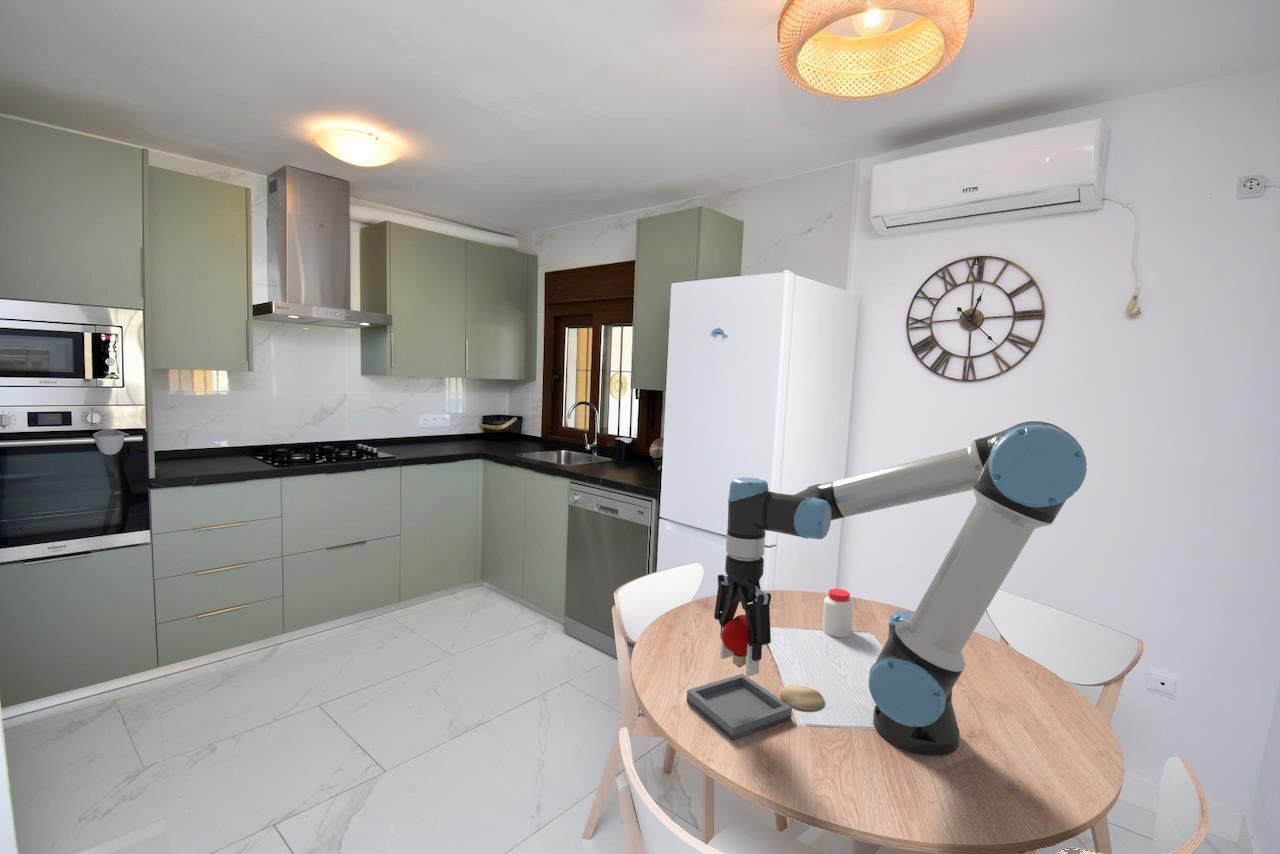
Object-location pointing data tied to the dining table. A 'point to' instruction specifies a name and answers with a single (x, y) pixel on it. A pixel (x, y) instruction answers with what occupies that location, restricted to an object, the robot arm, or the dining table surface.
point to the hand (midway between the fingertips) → (739, 665)
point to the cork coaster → (801, 697)
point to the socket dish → (738, 706)
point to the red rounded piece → (737, 639)
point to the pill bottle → (838, 614)
